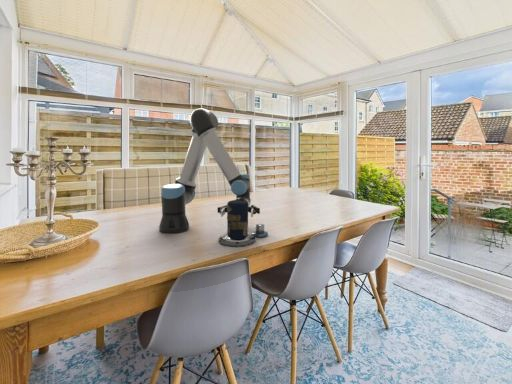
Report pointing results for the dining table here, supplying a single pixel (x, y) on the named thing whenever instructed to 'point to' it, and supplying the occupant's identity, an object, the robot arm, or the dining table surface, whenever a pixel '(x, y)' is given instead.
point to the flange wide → (236, 241)
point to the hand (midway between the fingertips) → (236, 214)
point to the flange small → (259, 231)
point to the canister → (237, 219)
